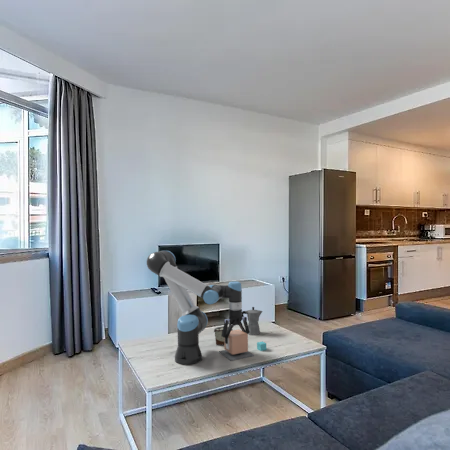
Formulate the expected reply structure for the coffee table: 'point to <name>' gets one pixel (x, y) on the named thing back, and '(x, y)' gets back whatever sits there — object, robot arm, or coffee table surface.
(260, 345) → the fully visible block
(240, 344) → the salmon peach cube
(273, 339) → the coffee table surface
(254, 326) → the coffeepot
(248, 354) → the mat
